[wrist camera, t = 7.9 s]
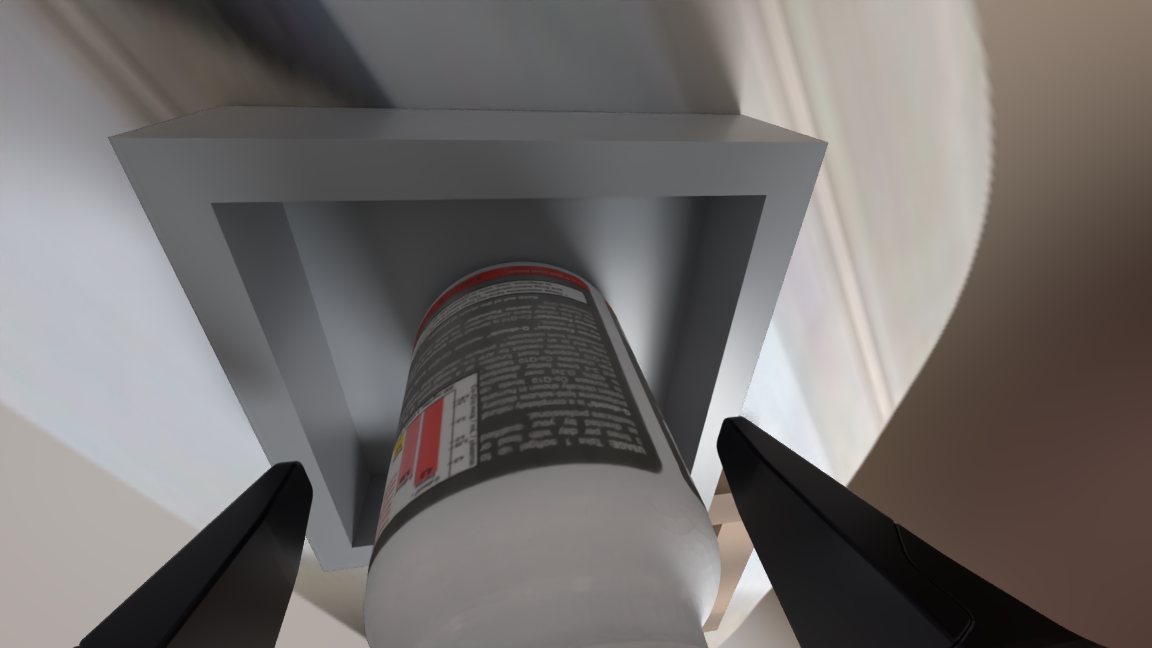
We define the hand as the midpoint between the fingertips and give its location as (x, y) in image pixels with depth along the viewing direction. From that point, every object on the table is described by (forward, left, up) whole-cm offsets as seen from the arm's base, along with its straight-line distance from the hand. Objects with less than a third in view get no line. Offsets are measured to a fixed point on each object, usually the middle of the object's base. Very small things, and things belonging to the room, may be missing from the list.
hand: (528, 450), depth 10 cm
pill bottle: (0, 0, -4) cm, 4 cm away
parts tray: (0, 0, -5) cm, 5 cm away
